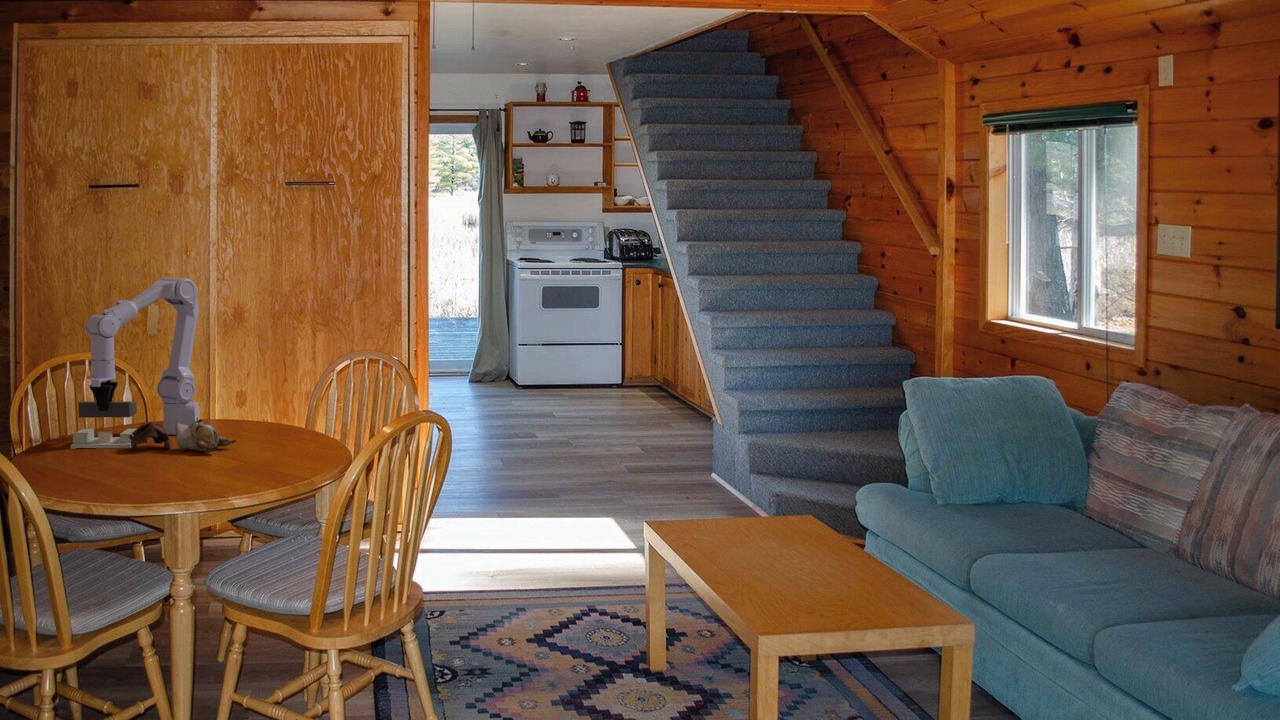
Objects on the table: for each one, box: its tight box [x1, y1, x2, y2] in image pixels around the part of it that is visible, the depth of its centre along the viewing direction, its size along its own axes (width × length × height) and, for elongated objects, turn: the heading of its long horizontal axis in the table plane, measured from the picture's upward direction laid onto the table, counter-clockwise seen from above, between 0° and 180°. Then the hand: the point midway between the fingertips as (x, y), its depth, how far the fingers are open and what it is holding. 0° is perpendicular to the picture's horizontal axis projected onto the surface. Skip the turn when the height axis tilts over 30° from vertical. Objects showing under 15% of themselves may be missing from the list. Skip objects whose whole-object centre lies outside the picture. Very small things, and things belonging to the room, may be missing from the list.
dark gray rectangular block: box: [77, 400, 138, 419], centre depth 333 cm, size 13×7×4 cm, turn 97°
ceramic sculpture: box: [175, 419, 238, 453], centre depth 325 cm, size 11×9×15 cm
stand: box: [70, 428, 137, 450], centre depth 332 cm, size 15×11×4 cm
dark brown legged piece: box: [129, 421, 173, 451], centre depth 327 cm, size 12×10×8 cm
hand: (104, 410), depth 330 cm, fingers closed on dark gray rectangular block, 2 cm apart
